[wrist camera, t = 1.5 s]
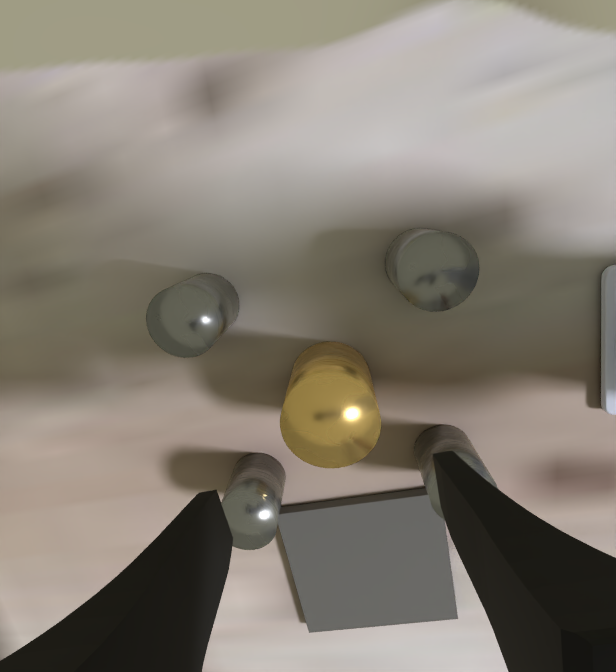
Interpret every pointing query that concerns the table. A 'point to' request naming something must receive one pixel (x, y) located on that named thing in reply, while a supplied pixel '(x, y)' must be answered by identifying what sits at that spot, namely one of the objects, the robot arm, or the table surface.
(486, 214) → the table surface
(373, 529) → the mat
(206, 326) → the spacer posts
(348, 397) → the brass round stock
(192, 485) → the table surface
